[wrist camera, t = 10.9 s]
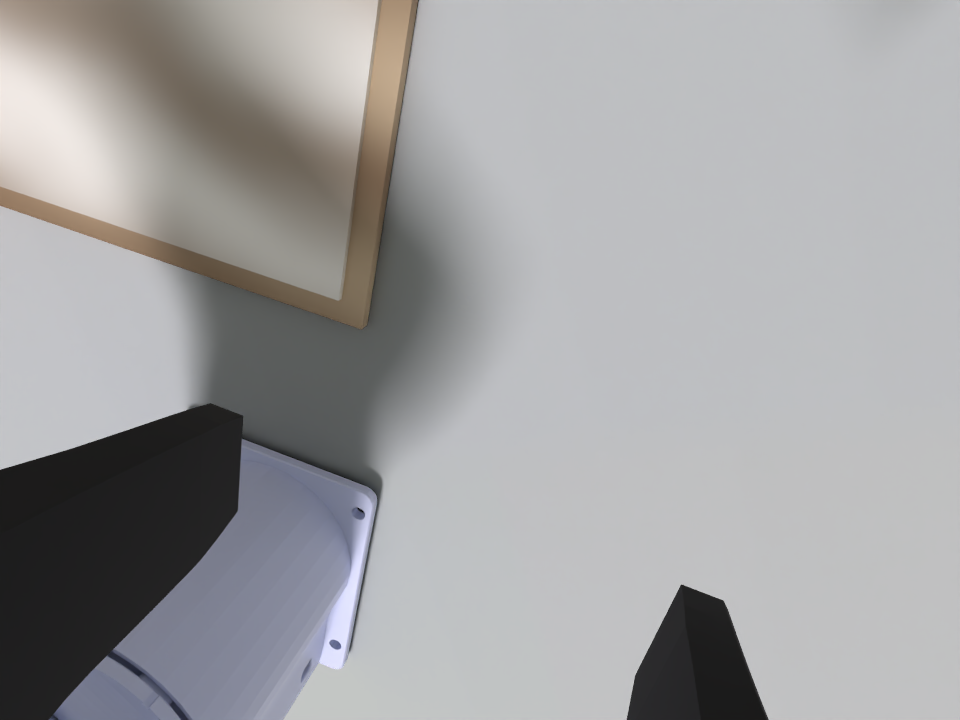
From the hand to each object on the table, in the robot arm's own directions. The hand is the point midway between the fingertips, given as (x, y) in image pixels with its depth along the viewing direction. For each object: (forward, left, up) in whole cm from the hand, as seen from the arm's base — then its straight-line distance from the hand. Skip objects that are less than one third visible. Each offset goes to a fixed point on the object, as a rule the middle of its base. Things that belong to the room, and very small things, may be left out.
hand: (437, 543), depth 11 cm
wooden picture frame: (+4, +13, -10) cm, 17 cm away
